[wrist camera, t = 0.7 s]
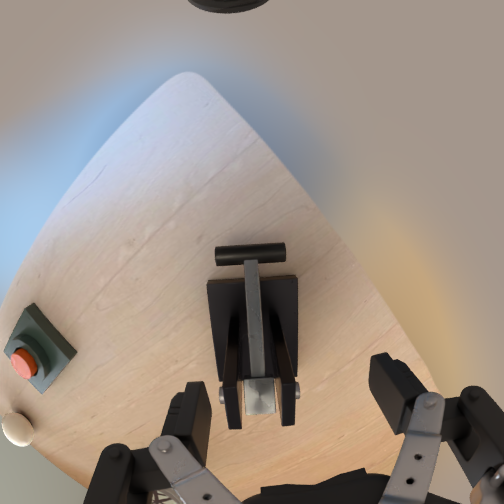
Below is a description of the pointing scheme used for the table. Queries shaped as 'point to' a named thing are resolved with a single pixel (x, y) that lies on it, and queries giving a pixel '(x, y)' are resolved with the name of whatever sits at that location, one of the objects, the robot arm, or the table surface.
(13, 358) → the button
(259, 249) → the lever
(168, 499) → the food container
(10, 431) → the cream ball
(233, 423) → the bracket
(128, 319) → the table surface
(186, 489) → the robot arm
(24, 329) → the button box
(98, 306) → the table surface
